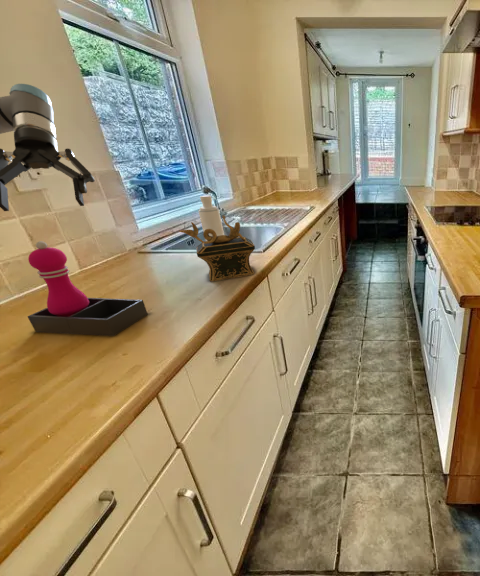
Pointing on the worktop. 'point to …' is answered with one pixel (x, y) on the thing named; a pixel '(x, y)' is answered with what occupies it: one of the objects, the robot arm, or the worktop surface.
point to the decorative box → (224, 252)
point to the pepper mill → (57, 281)
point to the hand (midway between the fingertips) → (43, 205)
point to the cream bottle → (210, 216)
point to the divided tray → (92, 318)
